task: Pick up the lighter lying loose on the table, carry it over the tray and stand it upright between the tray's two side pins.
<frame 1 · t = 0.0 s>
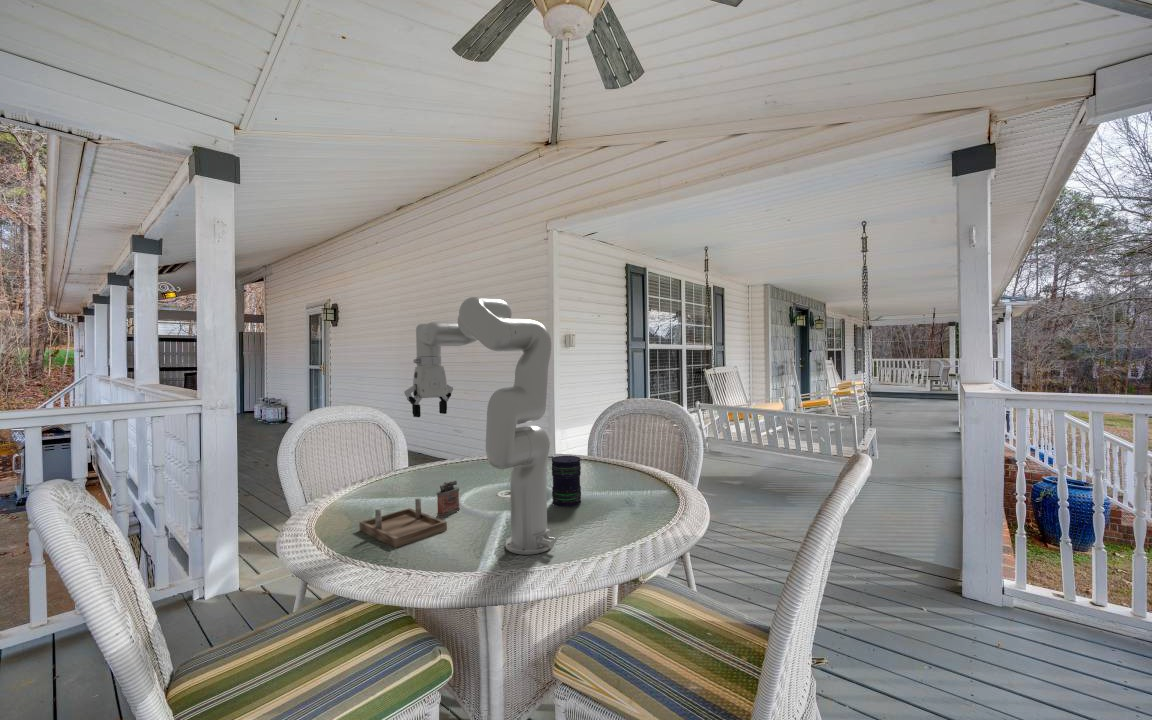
hand: (430, 415, 157), 31 cm above the table, tool pointing down, fingers open, 9 cm apart
storage jar: (566, 503, 164), on the table
pin tray: (403, 530, 141), on the table
lighter: (448, 513, 156), on the table
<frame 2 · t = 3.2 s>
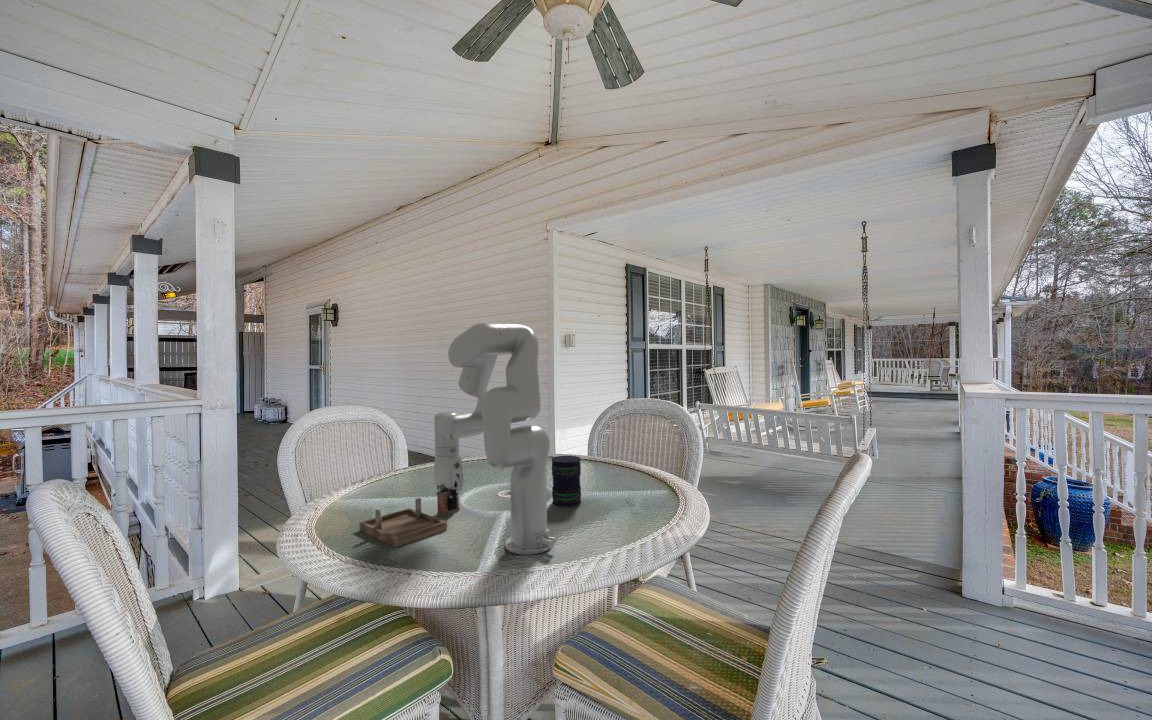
hand: (448, 507, 156), 2 cm above the table, tool pointing down, fingers closed on lighter, 3 cm apart
lighter: (448, 513, 156), on the table, touching gripper
everything else where it was.
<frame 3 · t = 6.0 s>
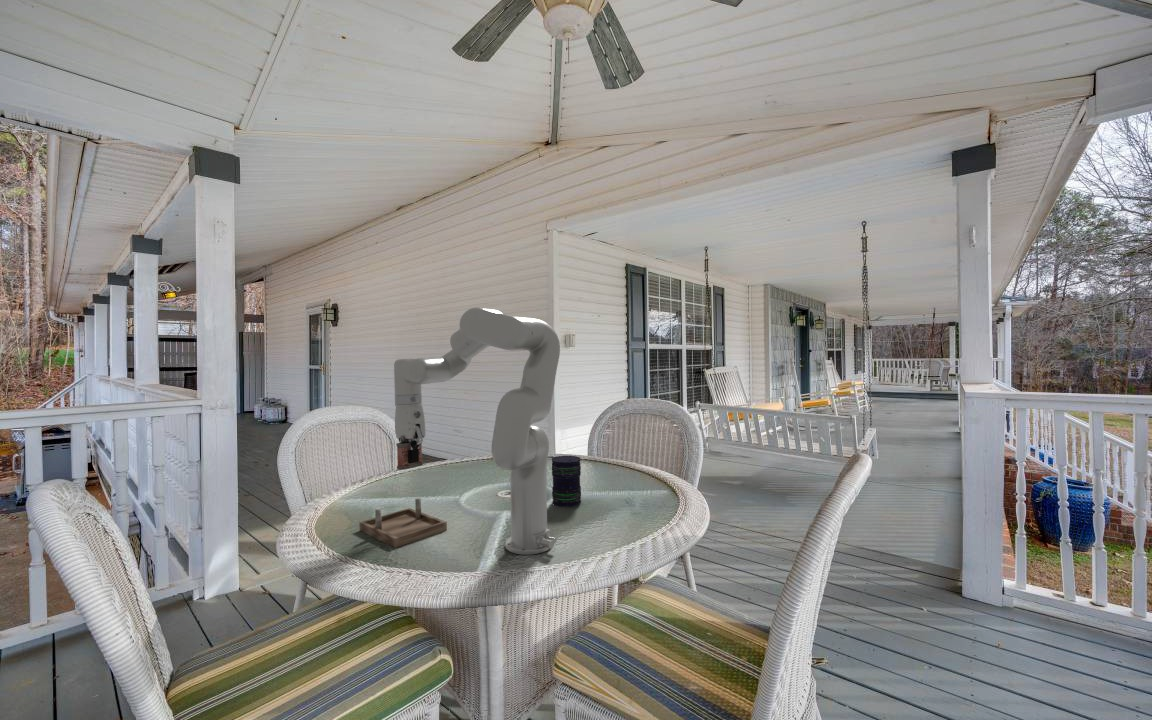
hand: (409, 461, 145), 19 cm above the table, tool pointing down, fingers closed on lighter, 3 cm apart
lighter: (410, 467, 145), point 17 cm above the table, touching gripper
everything else where it was.
when the fingers open (5 cm above the table, at t = 8.7 s): lighter drops 2 cm, resting on pin tray.
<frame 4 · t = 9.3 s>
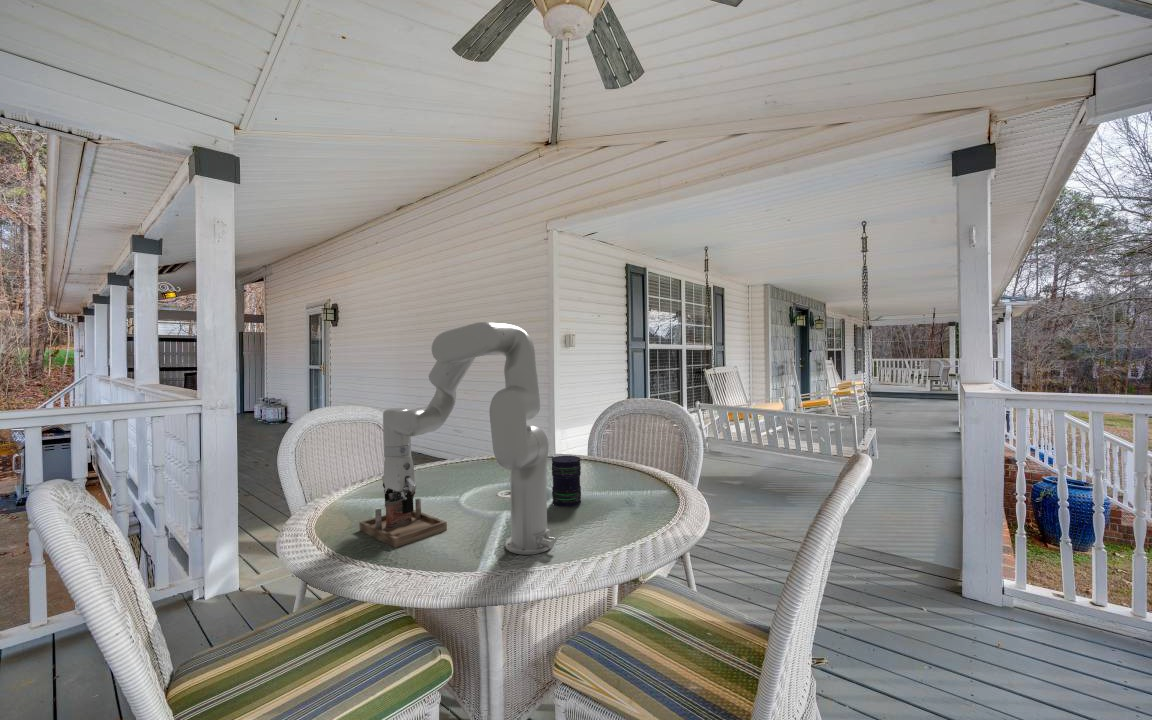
hand: (399, 509, 143), 6 cm above the table, tool pointing down, fingers open, 9 cm apart
lighter: (398, 524, 143), point 1 cm above the table, touching pin tray
everything else where it was.
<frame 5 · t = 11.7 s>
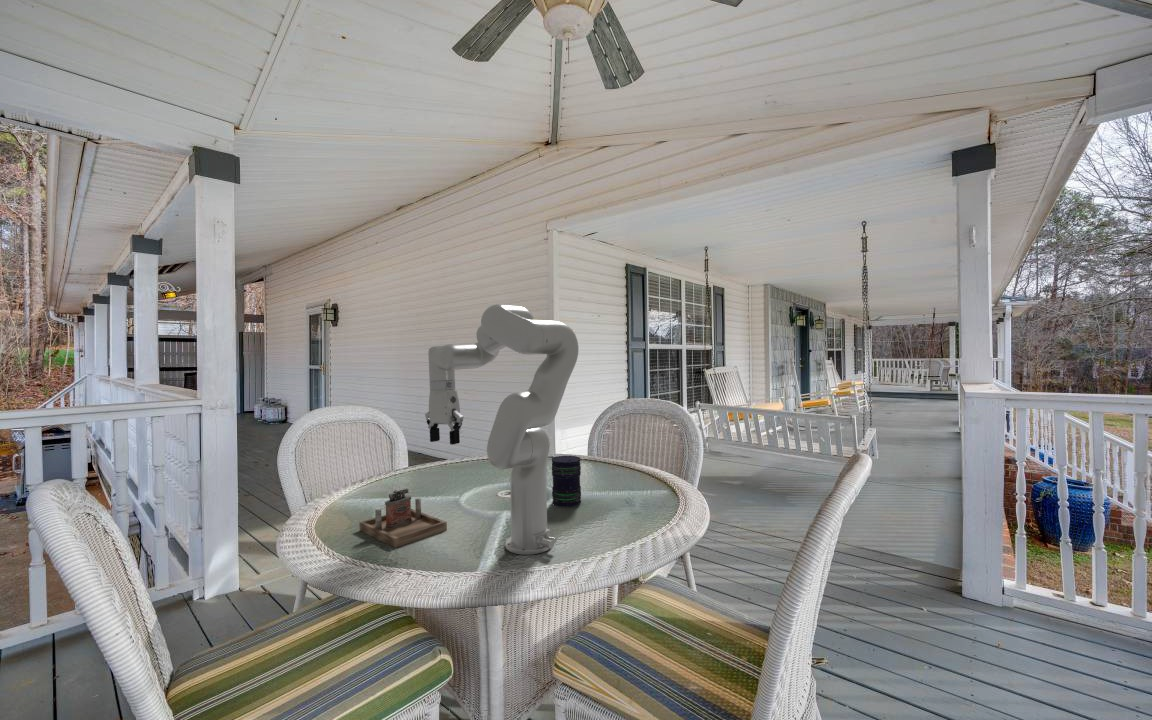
hand: (444, 442, 149), 24 cm above the table, tool pointing down, fingers open, 9 cm apart
nothing on the table moved.
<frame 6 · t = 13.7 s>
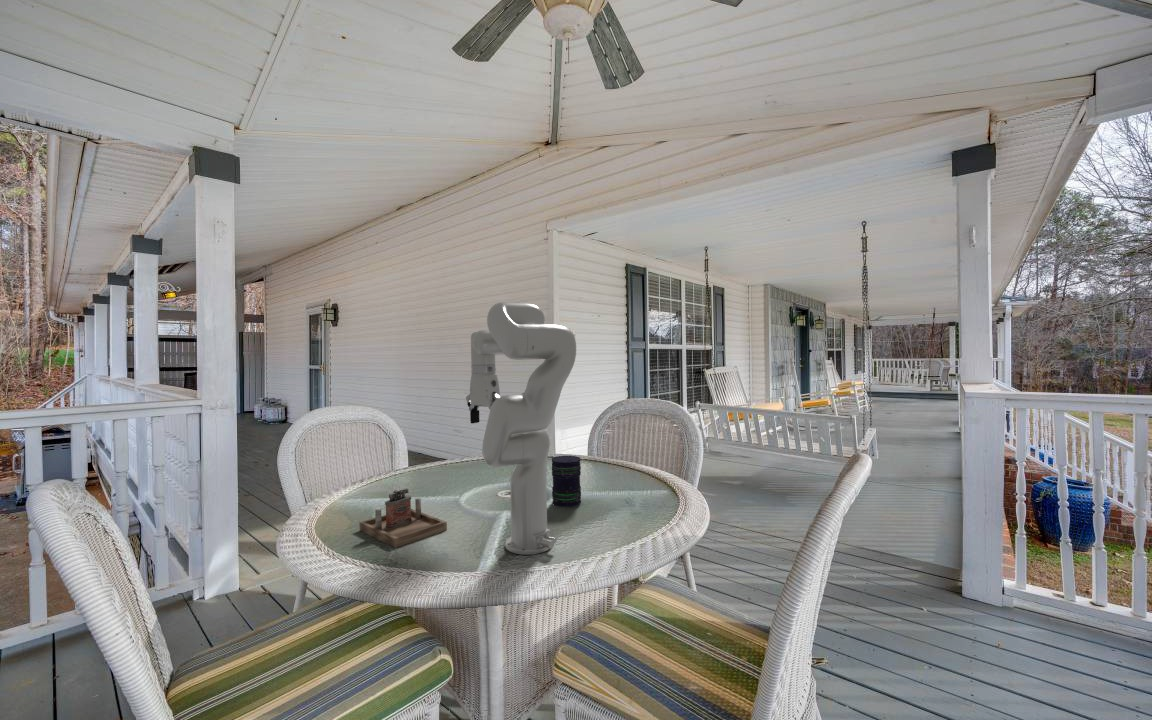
hand: (484, 424, 155), 28 cm above the table, tool pointing down, fingers open, 9 cm apart
nothing on the table moved.
at the end: lighter 0.4 cm from the target spot on the pin tray, point 1.0 cm above the pin tray's base; lighter tilted 0°; the gripper is holding nothing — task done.
